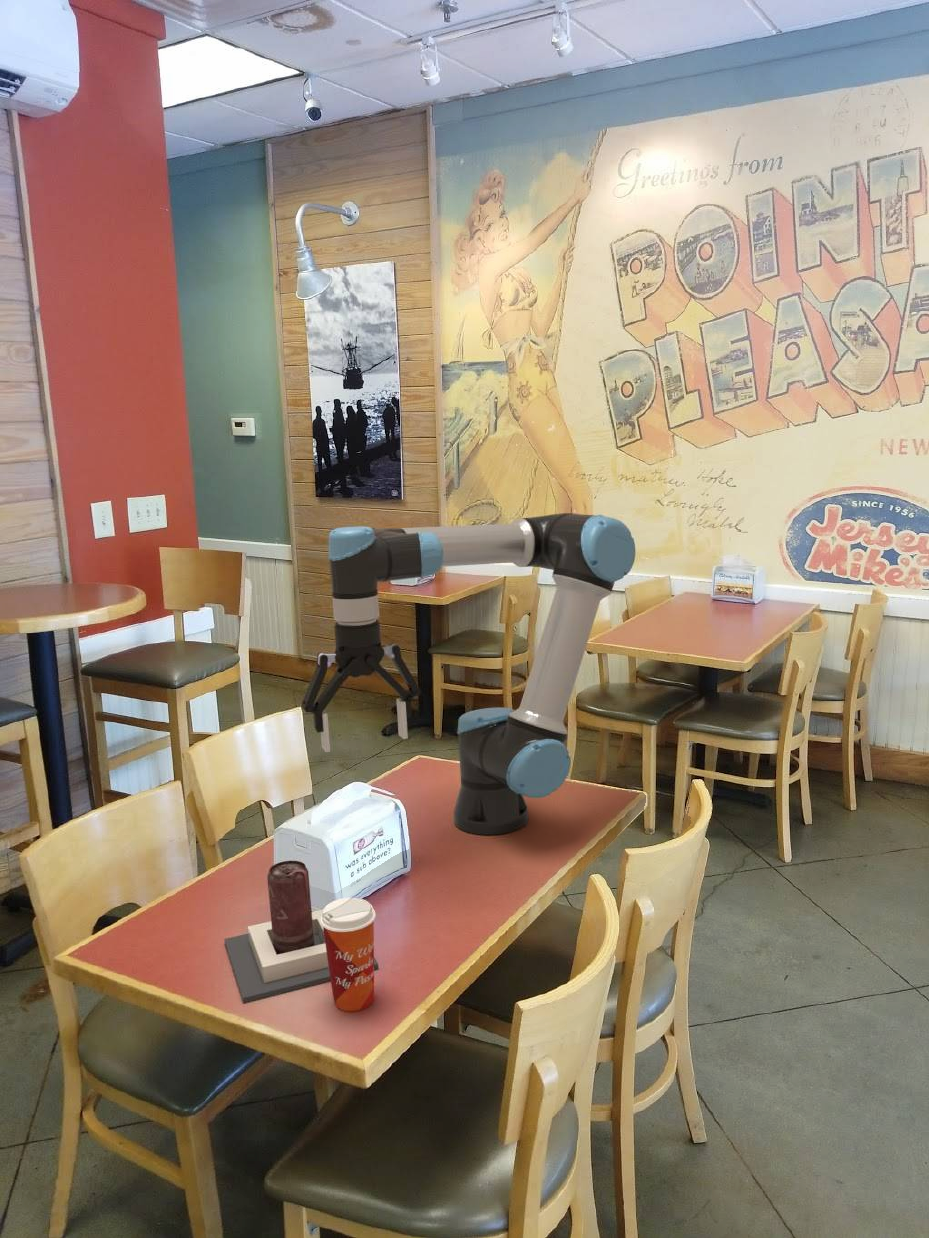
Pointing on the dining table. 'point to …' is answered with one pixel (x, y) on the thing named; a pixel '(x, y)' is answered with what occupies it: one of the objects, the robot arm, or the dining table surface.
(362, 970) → the paper cup
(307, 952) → the holder
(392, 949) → the dining table surface
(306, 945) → the can
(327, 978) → the mat
